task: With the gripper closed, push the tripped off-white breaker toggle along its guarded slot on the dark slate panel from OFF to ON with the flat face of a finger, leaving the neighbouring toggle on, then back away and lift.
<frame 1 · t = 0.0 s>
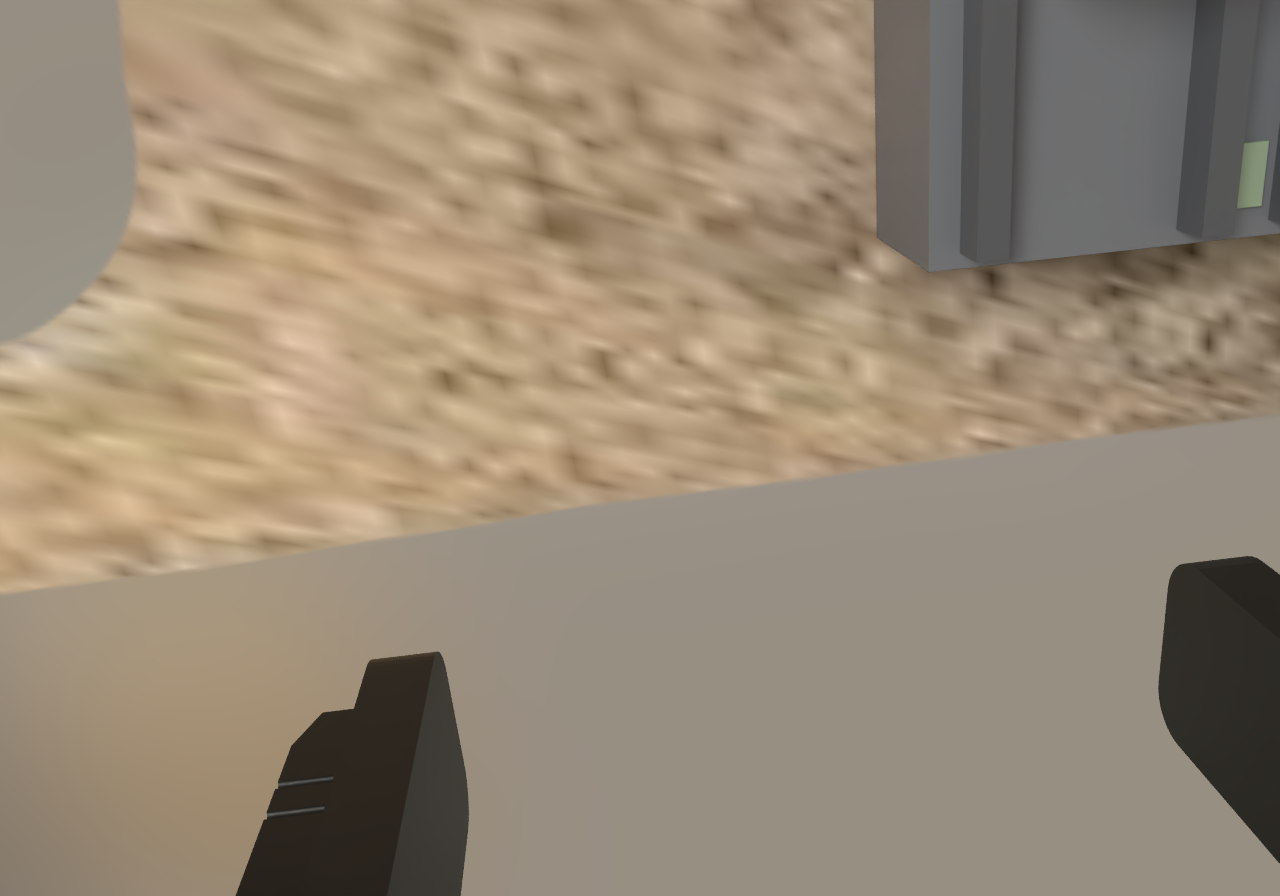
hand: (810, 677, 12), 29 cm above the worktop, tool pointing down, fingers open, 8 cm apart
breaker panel: (1156, 21, 38), on the worktop
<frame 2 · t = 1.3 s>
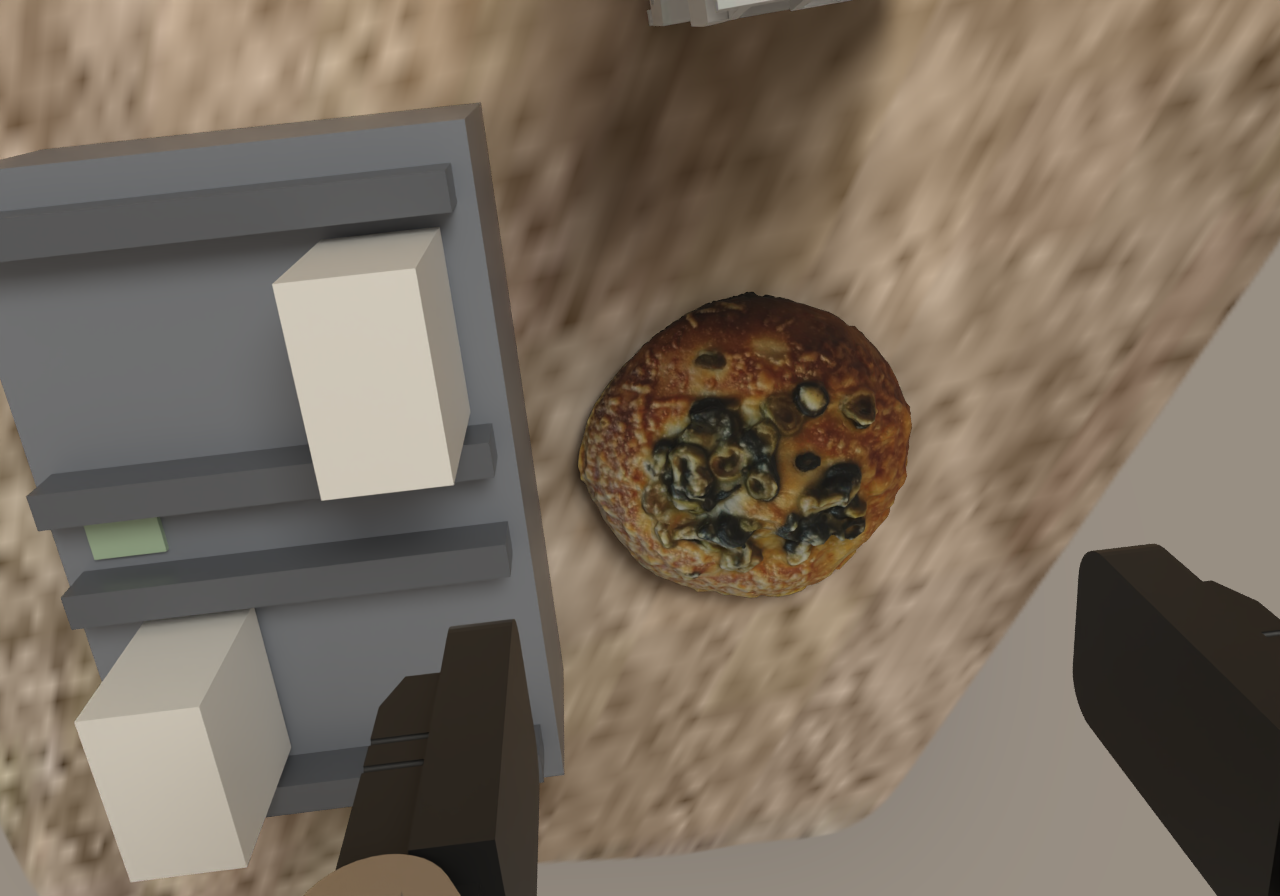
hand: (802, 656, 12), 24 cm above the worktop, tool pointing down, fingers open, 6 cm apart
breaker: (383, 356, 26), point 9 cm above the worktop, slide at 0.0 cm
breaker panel: (331, 437, 36), on the worktop
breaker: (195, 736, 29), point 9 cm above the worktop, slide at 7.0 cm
bread roll: (742, 444, 37), on the worktop
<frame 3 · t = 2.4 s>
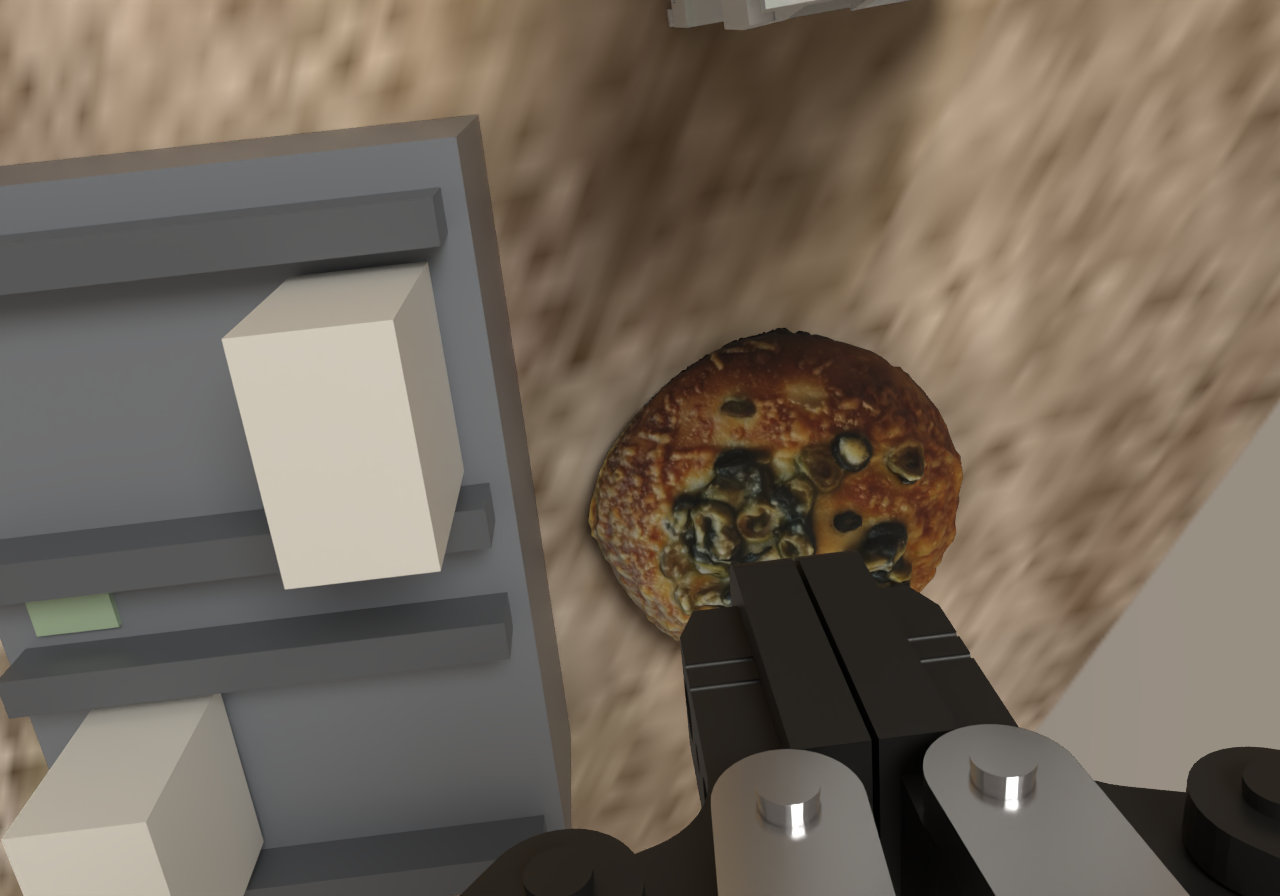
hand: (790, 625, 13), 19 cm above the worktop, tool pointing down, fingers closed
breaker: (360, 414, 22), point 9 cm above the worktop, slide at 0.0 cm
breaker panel: (312, 487, 32), on the worktop
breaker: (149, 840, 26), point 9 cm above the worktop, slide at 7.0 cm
bread roll: (771, 495, 34), on the worktop
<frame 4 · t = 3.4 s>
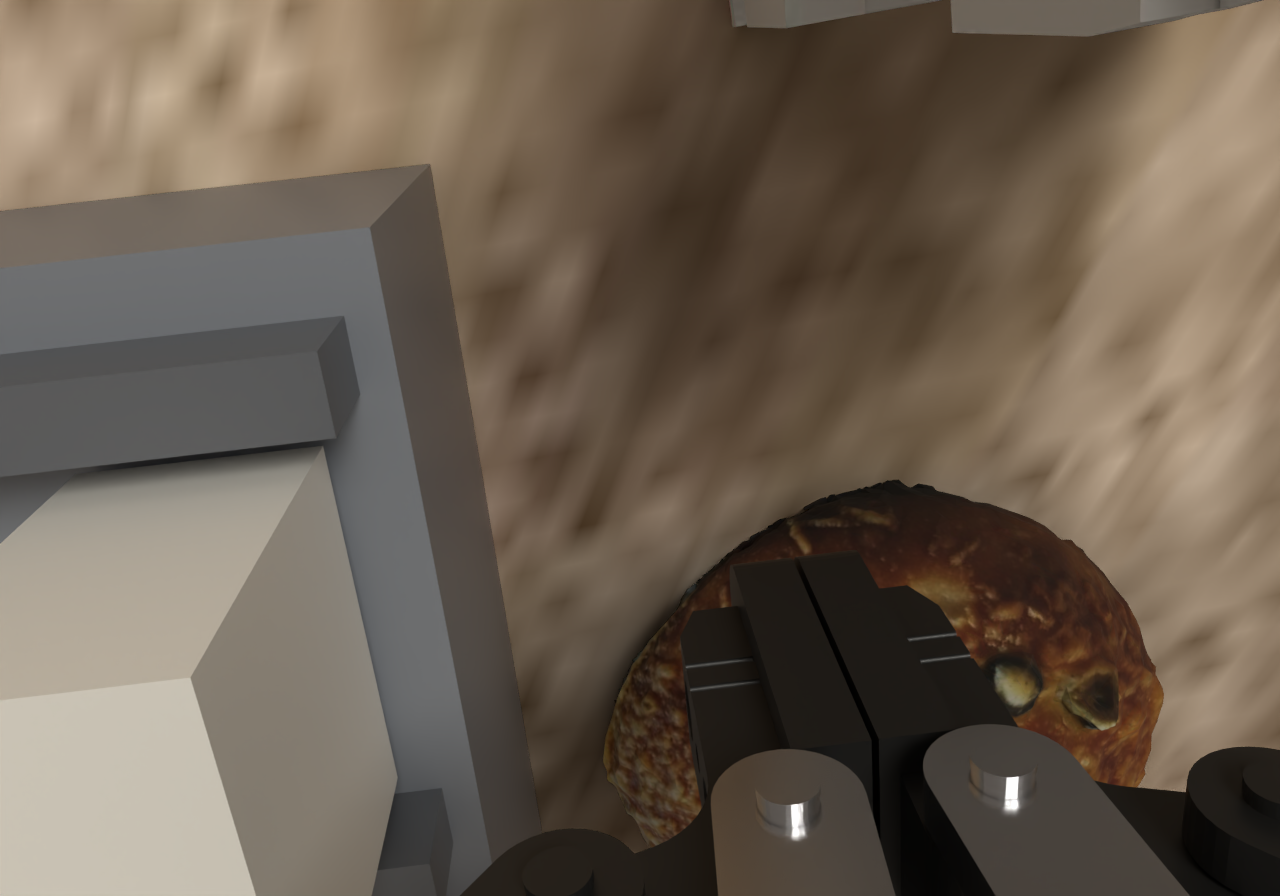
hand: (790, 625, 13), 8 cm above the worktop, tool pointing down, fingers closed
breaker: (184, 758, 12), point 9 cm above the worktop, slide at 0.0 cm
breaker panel: (192, 707, 22), on the worktop
bread roll: (865, 705, 23), on the worktop
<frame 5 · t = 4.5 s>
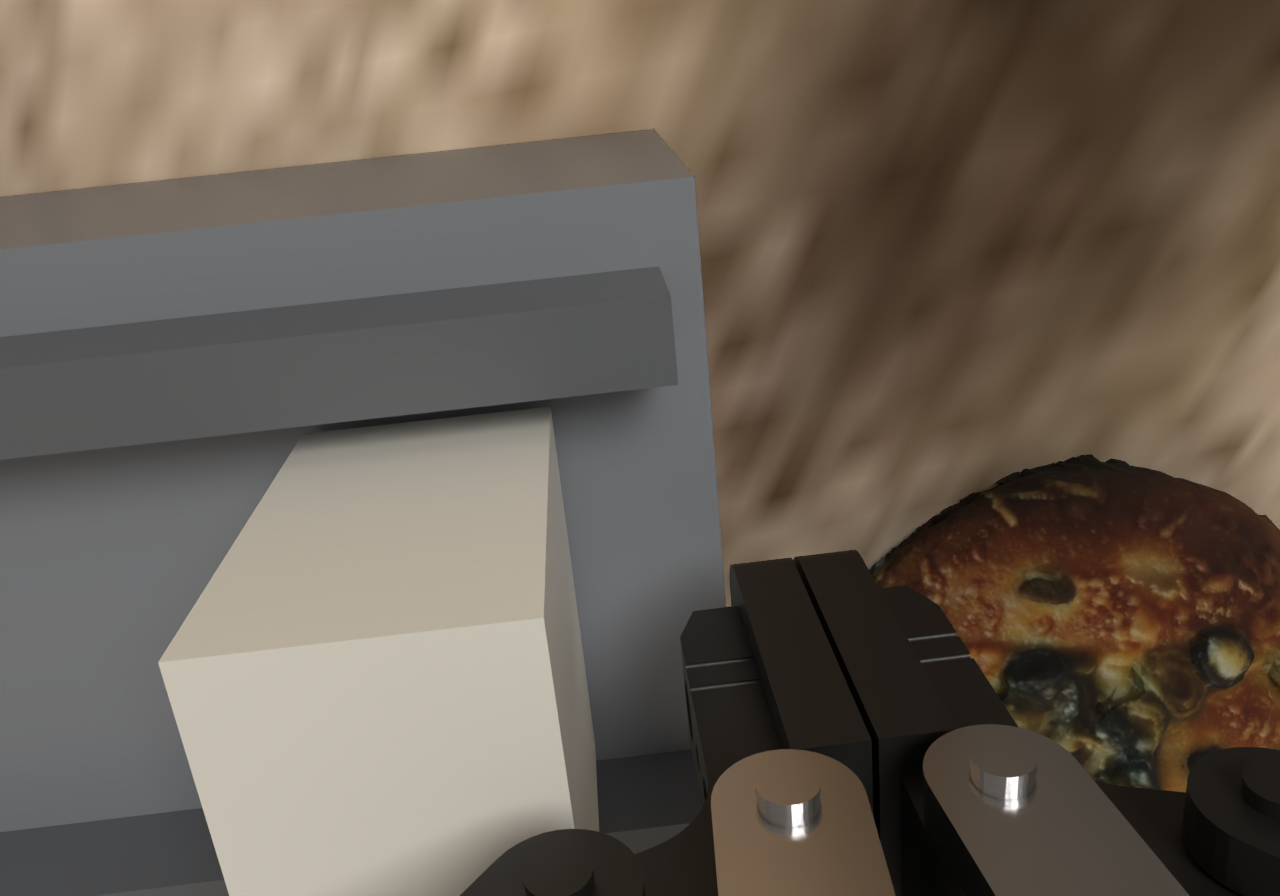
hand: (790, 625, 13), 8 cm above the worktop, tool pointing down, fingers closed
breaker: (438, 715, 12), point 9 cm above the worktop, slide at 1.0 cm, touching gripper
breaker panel: (375, 678, 22), on the worktop
bread roll: (1036, 682, 23), on the worktop
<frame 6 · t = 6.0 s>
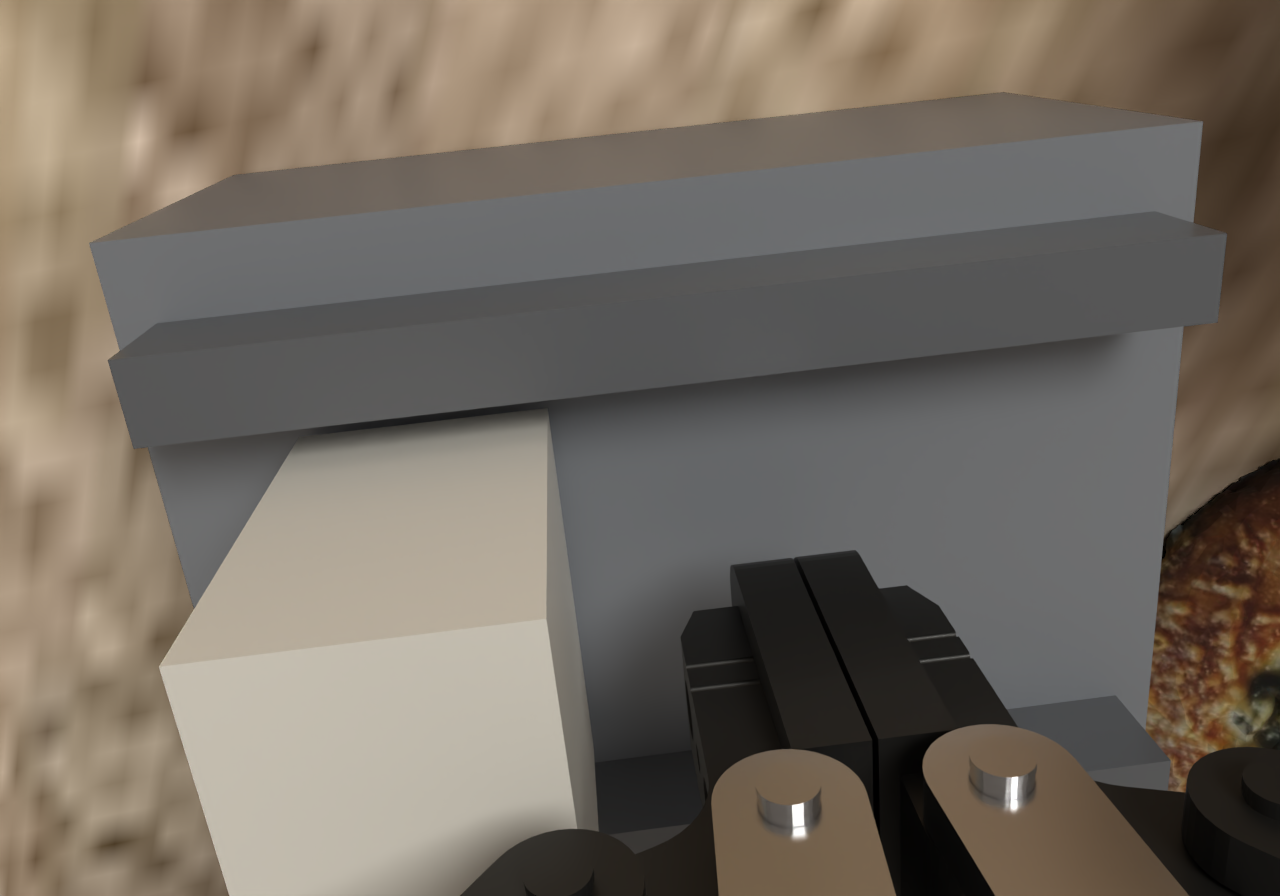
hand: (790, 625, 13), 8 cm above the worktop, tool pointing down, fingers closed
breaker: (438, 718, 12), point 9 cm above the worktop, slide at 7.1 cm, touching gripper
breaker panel: (673, 644, 22), on the worktop
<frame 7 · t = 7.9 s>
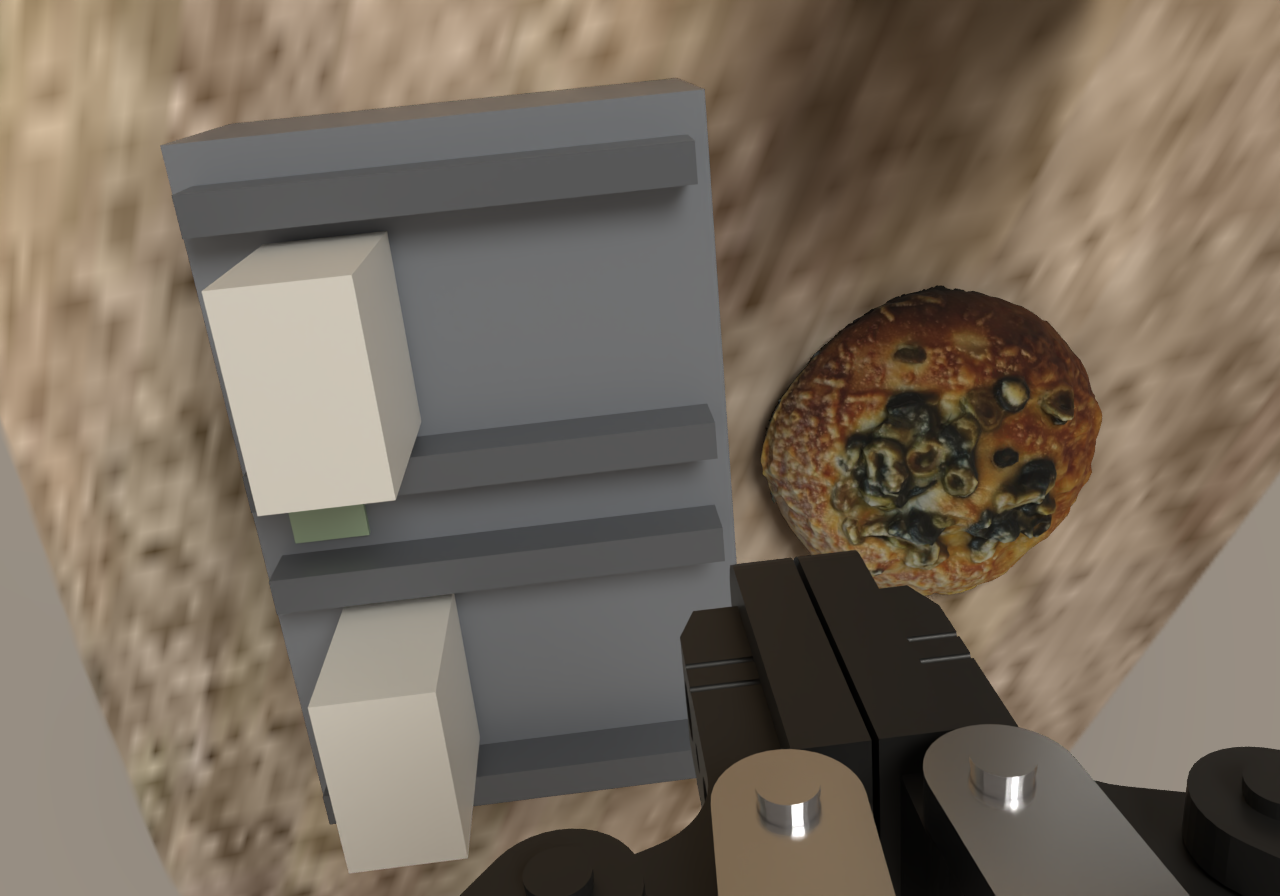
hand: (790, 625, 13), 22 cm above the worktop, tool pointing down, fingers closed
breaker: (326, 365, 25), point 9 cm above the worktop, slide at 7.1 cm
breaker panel: (503, 421, 35), on the worktop
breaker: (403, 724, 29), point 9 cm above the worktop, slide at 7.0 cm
bread roll: (918, 440, 37), on the worktop
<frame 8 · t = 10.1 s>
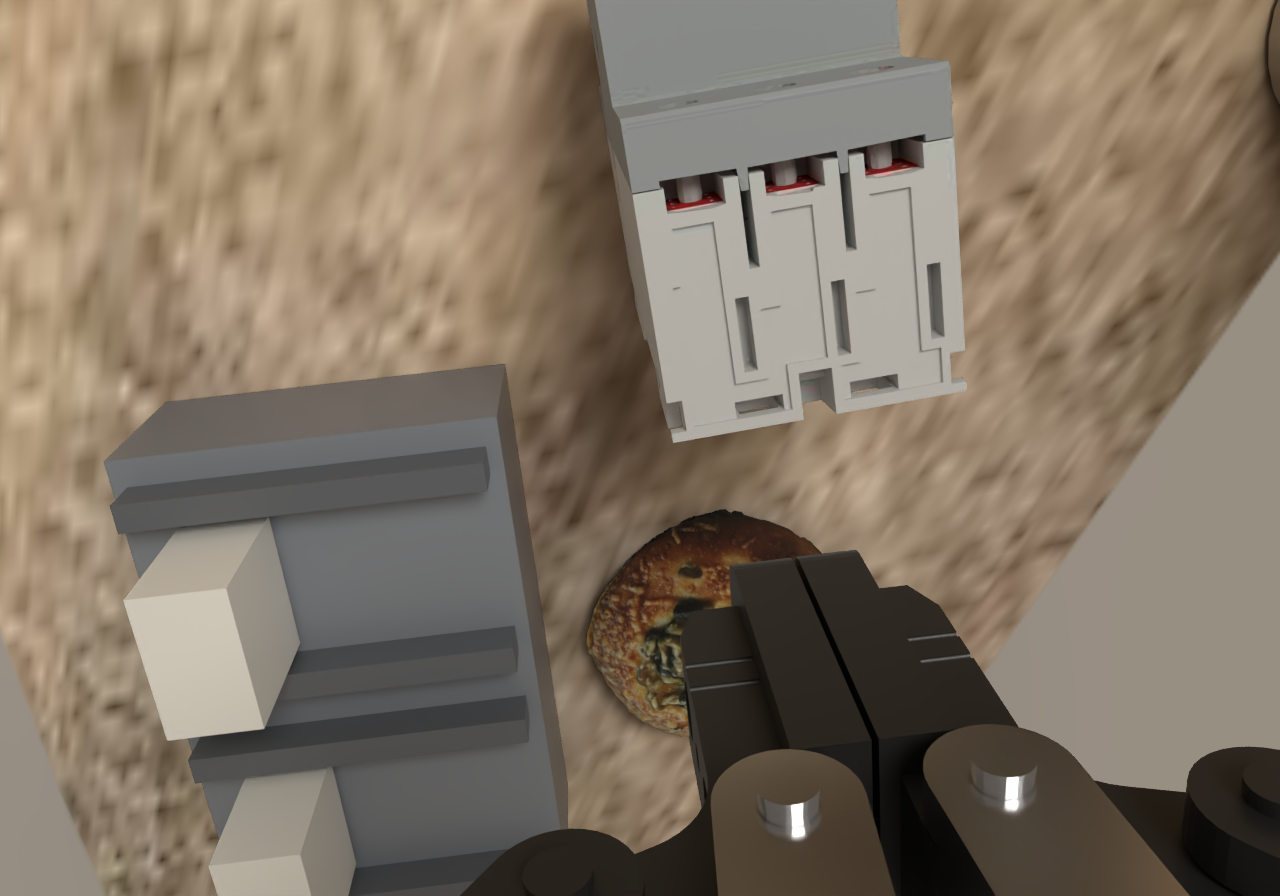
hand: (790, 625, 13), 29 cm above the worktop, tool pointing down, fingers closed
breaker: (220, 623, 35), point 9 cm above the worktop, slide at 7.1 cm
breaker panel: (383, 609, 45), on the worktop
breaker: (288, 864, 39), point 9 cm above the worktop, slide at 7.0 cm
bread roll: (717, 619, 47), on the worktop
circuit breaker: (705, 96, 39), on the worktop
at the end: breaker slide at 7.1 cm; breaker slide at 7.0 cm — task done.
